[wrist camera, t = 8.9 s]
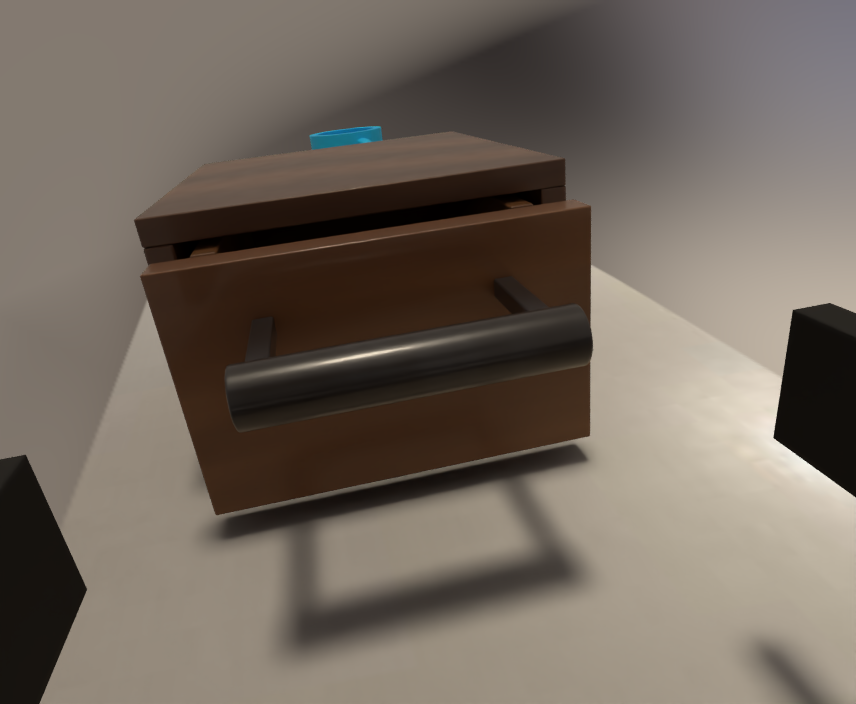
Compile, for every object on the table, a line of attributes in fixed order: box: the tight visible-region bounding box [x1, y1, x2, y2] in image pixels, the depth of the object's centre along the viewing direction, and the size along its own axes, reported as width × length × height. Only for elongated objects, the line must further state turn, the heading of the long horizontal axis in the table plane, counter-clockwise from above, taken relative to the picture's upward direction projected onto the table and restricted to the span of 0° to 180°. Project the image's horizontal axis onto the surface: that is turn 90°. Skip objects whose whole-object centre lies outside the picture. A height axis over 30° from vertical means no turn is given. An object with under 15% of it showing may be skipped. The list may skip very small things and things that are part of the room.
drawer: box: [140, 194, 593, 515], centre depth 23 cm, size 20×13×8 cm, turn 12°
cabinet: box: [134, 132, 566, 266], centre depth 28 cm, size 16×14×10 cm
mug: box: [310, 126, 383, 150], centre depth 69 cm, size 12×8×8 cm
